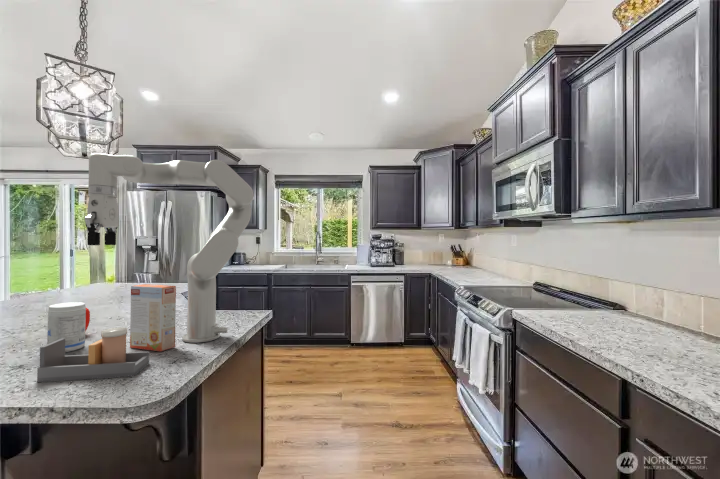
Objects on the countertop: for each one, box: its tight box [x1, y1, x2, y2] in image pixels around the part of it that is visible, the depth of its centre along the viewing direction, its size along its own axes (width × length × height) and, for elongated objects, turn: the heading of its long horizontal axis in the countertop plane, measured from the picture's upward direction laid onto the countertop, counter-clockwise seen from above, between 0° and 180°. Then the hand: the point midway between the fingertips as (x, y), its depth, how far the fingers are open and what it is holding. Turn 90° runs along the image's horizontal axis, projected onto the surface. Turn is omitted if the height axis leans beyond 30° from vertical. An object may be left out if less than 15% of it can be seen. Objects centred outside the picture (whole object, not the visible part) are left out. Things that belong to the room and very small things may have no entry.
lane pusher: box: [87, 338, 102, 364], centre depth 93 cm, size 2×7×7 cm, turn 11°
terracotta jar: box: [100, 326, 128, 364], centre depth 94 cm, size 6×6×10 cm
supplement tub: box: [46, 301, 87, 353], centre depth 112 cm, size 10×10×15 cm
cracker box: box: [129, 283, 177, 353], centre depth 115 cm, size 14×6×21 cm, turn 71°
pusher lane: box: [36, 338, 150, 383], centre depth 93 cm, size 22×10×8 cm, turn 101°
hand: (102, 245), depth 111 cm, fingers open, 9 cm apart
